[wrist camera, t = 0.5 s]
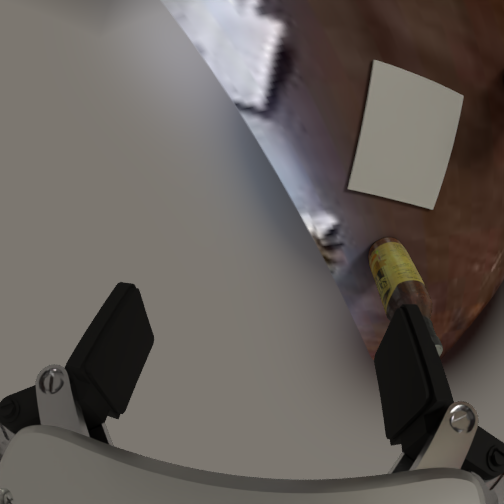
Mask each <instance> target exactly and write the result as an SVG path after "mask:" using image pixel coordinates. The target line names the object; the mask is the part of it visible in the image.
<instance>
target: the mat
mask: <svg viewBox="0 0 504 504" xmlns="http://www.w3.org/2000/svg"><path fill="white" fill-rule="evenodd" d="M463 97H464V96H463V95H461V94H459V93H457V92H455V91H453V90H451V89H449V88H447V87H444V86H442V85H440V84H438V83H436V82H433V81H431V80H429V79H426V78H424V77H422V76H419V75H417V74H414V73H411V72H409V71H406V70H403V69H401V68H398V67H395V66H392V65H389V64H386V63H383V62H380V61H377V60H373V64H372V70H371V77H370V83H369V89H368V94H367V100H366V105H365V110H364V116H363V121H362V126H361V130H360V135H359V140H358V144H357V149H356V153H355V158H354V162H353V166H352V171H351V175H350V179H349V183H348V187H347V188H348V189H350V190H355V191H359V192H364V193H368V194H373V195H377V196H381V197H385V198H390V199H394V200H398V201H402V202H405V203H409V204H413V205H417V206H421V207H424V208H428V209H431V210H433V208H434V205H435V202H436V200H437V197H438V194H439V191H440V188H441V185H442V182H443V178H444V175H445V172H446V169H447V165H448V162H449V158H450V155H451V151H452V147H453V143H454V139H455V135H456V131H457V127H458V122H459V117H460V113H461V108H462V102H463Z"/></svg>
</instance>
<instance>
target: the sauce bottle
mask: <svg viewBox="0 0 504 504" xmlns="http://www.w3.org/2000/svg"><path fill="white" fill-rule="evenodd" d="M368 258H369V265H370V269H371V271H372V274H373V277H374V280H375V282H376V285H377V288H378V291H379V294H380V297H381V300H382V303H383V306H384V309H385V312H386V315H387V318H388V319H389V320H390V321H391V320H392V317H393V315H394V313H395V311H396V309H397V308H400V306H401V305H402V304H416V305H418V307H419V309H420V311H421V313H422V316H423V318H424V321H425V323H426V326H427V328H428V331H429V333H430V336H431V338H432V341H433V342H434V344H435V346H436V349H437V352H438V354H439V356H440V355H441V353H442V350H443V348H442V344H441V342H440V340H439V338H438V337H437V336H436V333H435V331H434V329H433V325H432V322H431V320H430V317H431V313H432V302H431V298H430V296H429V294H428V293H427V291H426V287H425V285H424V283H423V281H422V279H421V277H420V275H419V273H418V271H417V269H416V267H415V265H414V264H413V262H412V260H411V258H410V256H409V254H408V253H407V251H406V249H405V248H404V247H403V245H402V244H401V243H400V242H399V241H398V240H396V239H395V238H391V237H386V238H382V239H380V240H378V241H376V242H375V243H374V244H373V245H372V247H371V248H370V251H369V256H368Z"/></svg>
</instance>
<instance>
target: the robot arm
mask: <svg viewBox="0 0 504 504" xmlns="http://www.w3.org/2000/svg"><path fill="white" fill-rule="evenodd" d="M153 343H154V335H153V332H152V329H151V326H150V324H149V320H148V317H147V314H146V311H145V308H144V304H143V301H142V298H141V294H140V291H139V289H138V288H136V287H135V285H134V284H130V283H123V282H120V283H118V284H117V285H116V287H115V288H114V290H113V291H112V292H111V294H110V296H109V297H108V298H107V300H106V301H105V303H104V304H103V306H102V307H101V309H100V310H99V312H98V313H97V315H96V316H95V318H94V319H93V321H92V323H91V324H90V326H89V327H88V329H87V330H86V332H85V334H84V335H83V337H82V338H81V340H80V342H79V343H78V345H77V346H76V348H75V350H74V352H73V353H72V355H71V357H70V358H69V360H68V362H67V363H66V366H65V368H64V367H62V366H60V365H49V366H47V367H45V368H44V369H43V370H41V371H40V373H39V374H38V376H37V379H36V385H34V386H32V387H30V388H27V389H24V390H22V391H19V392H17V393H14V394H12V395H9V396H7V397H5V398H4V399H3V400H2V401H1V402H0V504H504V443H503V442H501V441H500V440H498V439H497V438H495V437H494V436H492V435H491V434H489V433H488V432H486V431H485V430H484V429H482V428H481V427H479V426H478V415H477V412H476V410H475V409H474V407H473V406H472V405H471V404H469V403H467V402H464V401H458V402H454V401H453V398H452V394H451V391H450V387H449V384H448V381H447V378H446V375H445V372H444V369H443V366H442V363H441V360H440V357H439V354H438V352H437V349H436V346H435V344H434V342H433V341H432V338H431V336H430V333H429V331H428V328H427V326H426V323H425V321H424V318H423V316H422V313H421V311H420V309H419V307H418V305H416V304H402V305H401V306H400V308H397V309H396V311H395V313H394V315H393V317H392V320H391V322H390V324H389V326H388V329H387V331H386V333H385V335H384V337H383V339H382V341H381V344H380V346H379V348H378V350H377V352H376V354H375V358H374V363H375V369H376V374H377V380H378V385H379V391H380V397H381V403H382V410H383V417H384V424H385V432H386V437H387V439H390V444H391V445H396V444H401V445H402V453H401V455H400V456H399V458H398V459H397V461H396V462H395V464H394V465H393V467H392V468H391V470H390V471H389V472H388V474H384V475H376V476H366V477H356V478H344V479H324V480H289V479H269V478H256V477H245V476H237V475H229V474H222V473H216V472H210V471H204V470H199V469H194V468H189V467H184V466H180V465H176V464H171V463H167V462H163V461H159V460H156V459H152V458H149V457H145V456H142V455H139V454H136V453H133V452H129V451H126V450H123V449H120V448H117V447H114V445H113V443H112V440H111V438H110V435H109V433H108V430H107V427H106V424H105V420H106V418H107V416H110V417H113V418H116V419H119V416H120V414H123V413H124V412H125V410H126V408H127V405H128V403H129V400H130V398H131V395H132V393H133V390H134V388H135V385H136V383H137V381H138V378H139V376H140V374H141V371H142V369H143V367H144V364H145V362H146V360H147V357H148V355H149V353H150V350H151V348H152V346H153Z"/></svg>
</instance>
